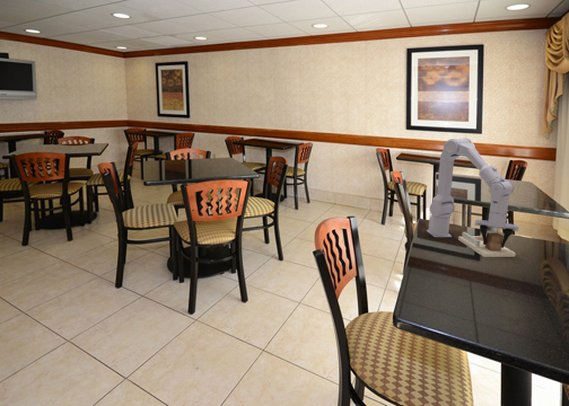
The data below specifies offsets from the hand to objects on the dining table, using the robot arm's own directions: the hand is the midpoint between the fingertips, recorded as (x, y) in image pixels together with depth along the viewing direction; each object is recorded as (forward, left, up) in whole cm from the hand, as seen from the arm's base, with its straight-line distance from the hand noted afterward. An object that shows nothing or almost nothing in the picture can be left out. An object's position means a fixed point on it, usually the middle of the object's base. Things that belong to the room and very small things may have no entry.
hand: (493, 245), depth 138 cm
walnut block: (0, 0, -1) cm, 1 cm away
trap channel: (-6, 0, -3) cm, 7 cm away
